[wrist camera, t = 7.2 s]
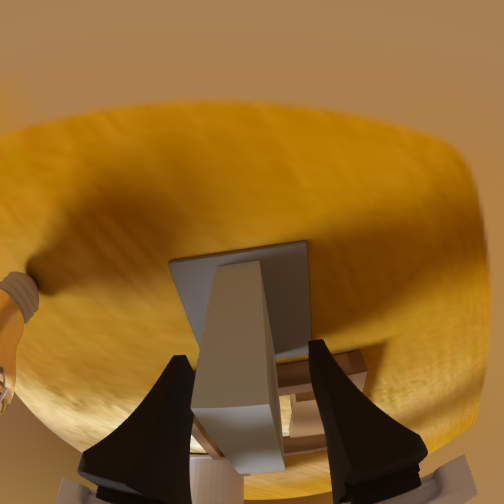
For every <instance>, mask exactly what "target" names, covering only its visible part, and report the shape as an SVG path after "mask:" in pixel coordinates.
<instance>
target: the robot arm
mask: <svg viewBox="0 0 504 504" xmlns="http://www.w3.org/2000/svg"><path fill="white" fill-rule="evenodd" d="M308 351H309V372H310V377H311V383H312V388H313V392H314V396H315V399H316V403H317V406H318V410H319V413H320V417H321V420H322V424H323V428H324V433H325V439H326V445H327V452H328V459H329V467H330V475H331V484H332V494H333V504H464V503H466V502H467V501H469V500H470V499H472V498H474V497H475V496H477V494H478V492H477V489H476V486H475V482H474V480H473V477H472V474H471V471H470V468H469V465H468V463H467V460H466V457H465V455H461V456H460V457H458V458H456V459H454V460H452V461H450V462H449V463H446V464H444V465H443V466H441V467H439V468H438V469H436V470H435V471H434V472H433V473H431V474H429V475H426V476H424V477H422V478H420V477H419V474H418V472H419V471H420V468H419V465H418V464H419V463H420V462H421V461H422V460H423V459H424V458H425V457H426V456H427V454H428V451H427V448H426V446H425V444H424V442H423V440H422V438H421V437H420V435H418V434H417V433H415V432H413V431H411V430H409V429H408V428H406V427H404V426H403V425H401V424H400V423H398V422H397V421H395V420H394V419H392V418H391V417H390V416H389V415H387V414H386V413H385V412H383V411H382V410H381V409H379V408H378V407H377V406H376V405H375V404H374V403H373V402H371V401H370V400H369V399H368V398H367V397H366V396H365V395H364V394H363V393H362V392H361V391H360V390H359V389H358V388H357V387H356V385H355V384H354V383H353V382H352V381H351V380H350V379H349V377H348V376H347V375H346V374H345V372H344V371H343V370H342V368H341V367H340V366H339V364H338V363H337V362H336V360H335V359H334V357H333V356H332V354H331V353H330V351H329V349H328V348H327V346H326V344H325V342H324V340H322V339H319V340H313V341H308ZM195 376H196V375H195V373H194V371H193V369H192V367H191V365H190V363H189V361H188V359H187V357H186V355H174V356H173V357H172V359H171V360H170V362H169V363H168V365H167V366H166V368H165V369H164V371H163V373H162V374H161V376H160V377H159V379H158V380H157V382H156V383H155V385H154V386H153V387H152V389H151V390H150V392H149V393H148V394H147V396H146V397H145V398H144V400H143V401H142V402H141V404H140V405H139V406H138V407H137V408H136V409H135V411H134V412H133V413H132V414H131V415H130V416H129V417H128V418H127V419H126V420H125V421H124V422H123V423H122V424H121V425H120V426H119V427H118V428H117V429H115V430H114V431H113V432H112V433H111V434H109V435H108V436H107V437H106V438H104V439H103V440H101V441H100V442H99V443H97V444H95V445H94V446H92V447H91V448H89V449H87V450H86V451H84V452H83V454H82V457H81V460H80V464H79V467H78V470H77V472H78V474H79V475H80V476H82V477H84V478H85V479H87V480H89V481H90V482H92V483H94V484H96V485H98V489H97V491H94V490H92V489H89V488H88V487H86V486H84V485H82V484H80V483H78V482H75V481H73V480H71V479H68V478H65V477H63V478H62V482H61V485H60V489H59V493H58V496H57V501H56V504H244V476H250V473H246V474H239V473H238V472H237V471H236V469H235V468H234V467H233V466H232V464H231V463H230V462H229V461H228V460H213V459H212V458H211V456H210V455H195V454H190V440H191V433H192V426H193V421H194V413H193V412H192V410H191V409H190V407H191V401H192V395H193V388H194V382H195Z"/></svg>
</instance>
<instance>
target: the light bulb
mask: <svg viewBox="0 0 504 504" xmlns="http://www.w3.org/2000/svg"><path fill="white" fill-rule="evenodd" d="M38 304H39V294H38V288H37V283H36V281H35V280H34V278H33V277H31V276H29V275H27V274H24V273H21V272H10V273H9V274H8V275H7V276H6V277H4V278H3V279H2V281H1V282H0V415H1V414H2V413H4V411H5V410H6V409H7V407H8V406H9V404H10V402H11V399H12V397H13V394H14V389H15V384H16V352H17V346H18V344H19V341H20V339H21V338H22V335H23V332H24V324H25V323H27V322H28V321H29V319H30V318H31V317H32V316H33V314H34V313H35V312H36V311H37V310H38Z"/></svg>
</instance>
